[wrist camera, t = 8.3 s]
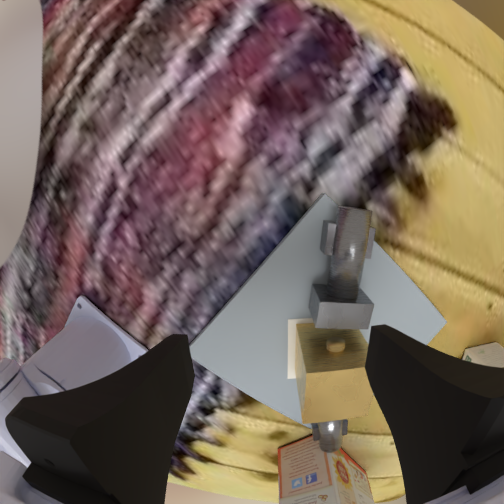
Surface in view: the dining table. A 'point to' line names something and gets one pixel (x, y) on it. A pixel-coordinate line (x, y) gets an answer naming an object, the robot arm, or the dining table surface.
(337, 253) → the shaft
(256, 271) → the board
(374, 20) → the dining table surface
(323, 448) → the shaft
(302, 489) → the cracker box
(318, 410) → the tan block
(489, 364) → the syrup box
